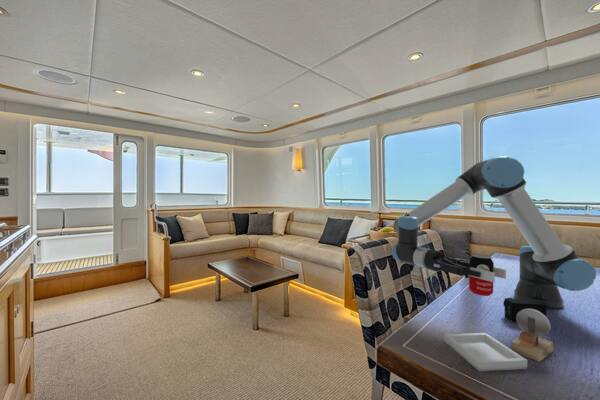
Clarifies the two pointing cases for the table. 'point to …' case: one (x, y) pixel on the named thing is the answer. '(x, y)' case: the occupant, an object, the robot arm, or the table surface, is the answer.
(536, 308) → the digital camera
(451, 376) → the table surface
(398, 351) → the table surface
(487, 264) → the beverage can
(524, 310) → the pulley stand
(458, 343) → the tray
